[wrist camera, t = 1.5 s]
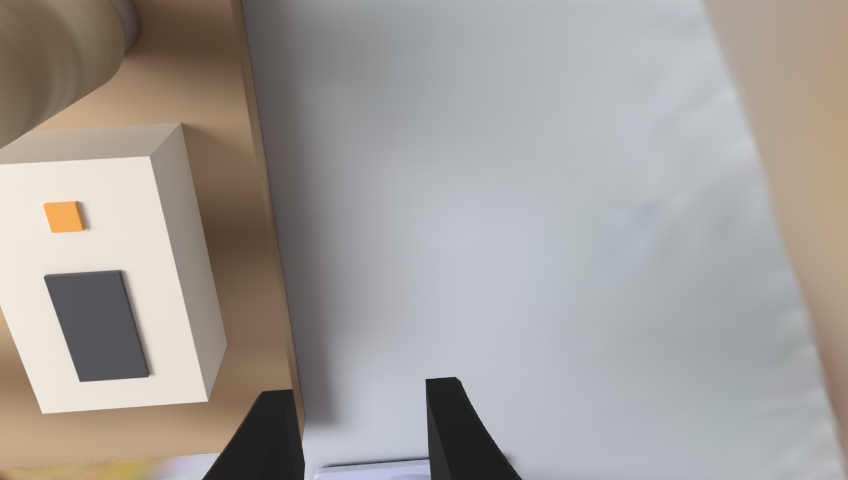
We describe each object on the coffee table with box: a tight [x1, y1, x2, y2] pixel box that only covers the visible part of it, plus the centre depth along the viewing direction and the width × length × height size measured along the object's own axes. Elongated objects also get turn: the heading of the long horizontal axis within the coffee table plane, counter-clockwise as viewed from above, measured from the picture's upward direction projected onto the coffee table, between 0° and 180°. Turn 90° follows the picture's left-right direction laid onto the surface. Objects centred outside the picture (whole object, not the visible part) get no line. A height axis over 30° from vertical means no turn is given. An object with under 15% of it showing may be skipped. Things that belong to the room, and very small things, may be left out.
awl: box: [0, 0, 141, 149], centre depth 14 cm, size 3×3×8 cm
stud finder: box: [0, 123, 227, 414], centre depth 19 cm, size 8×5×3 cm, turn 2°
